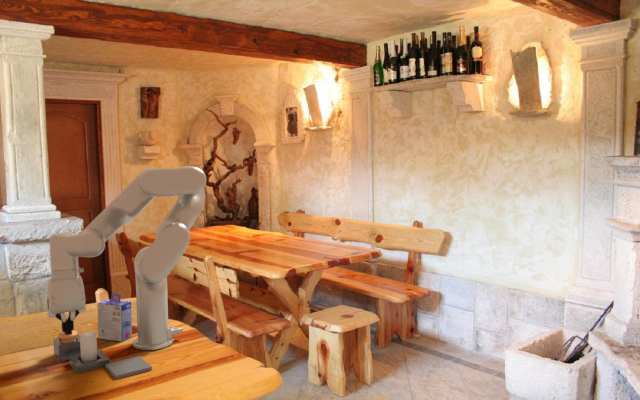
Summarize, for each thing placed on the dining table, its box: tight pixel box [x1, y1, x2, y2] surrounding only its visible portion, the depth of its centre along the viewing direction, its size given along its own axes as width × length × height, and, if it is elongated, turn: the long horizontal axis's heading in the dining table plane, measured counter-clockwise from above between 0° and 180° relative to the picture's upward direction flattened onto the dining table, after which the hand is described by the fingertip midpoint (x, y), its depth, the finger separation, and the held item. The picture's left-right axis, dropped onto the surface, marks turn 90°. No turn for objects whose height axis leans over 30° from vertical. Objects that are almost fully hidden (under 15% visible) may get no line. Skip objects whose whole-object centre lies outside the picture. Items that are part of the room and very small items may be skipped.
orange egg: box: [58, 329, 79, 343], centre depth 163 cm, size 5×5×6 cm
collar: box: [68, 349, 111, 375], centre depth 157 cm, size 9×9×2 cm
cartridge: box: [79, 331, 98, 363], centre depth 157 cm, size 4×4×9 cm
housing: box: [53, 334, 81, 363], centre depth 164 cm, size 7×7×5 cm
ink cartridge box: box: [97, 293, 133, 342], centre depth 178 cm, size 10×6×14 cm, turn 72°
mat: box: [104, 355, 153, 380], centre depth 154 cm, size 10×10×1 cm
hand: (68, 333), depth 163 cm, fingers closed
